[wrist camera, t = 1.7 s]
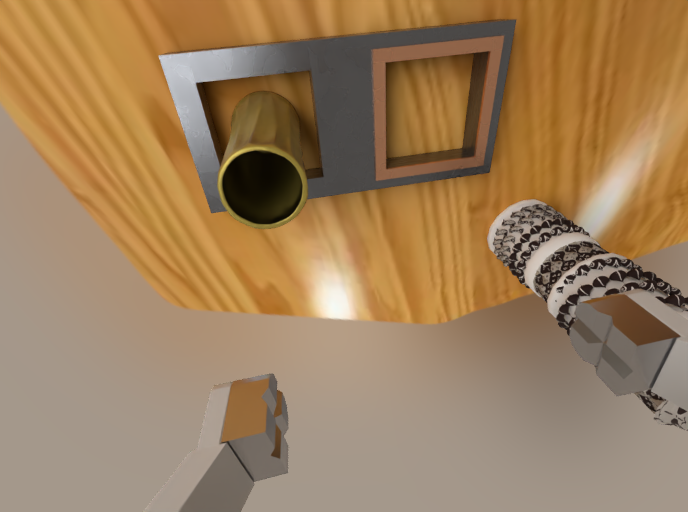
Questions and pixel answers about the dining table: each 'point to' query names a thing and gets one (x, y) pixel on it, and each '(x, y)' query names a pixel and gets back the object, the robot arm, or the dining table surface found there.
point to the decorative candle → (575, 274)
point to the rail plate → (351, 101)
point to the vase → (263, 163)
